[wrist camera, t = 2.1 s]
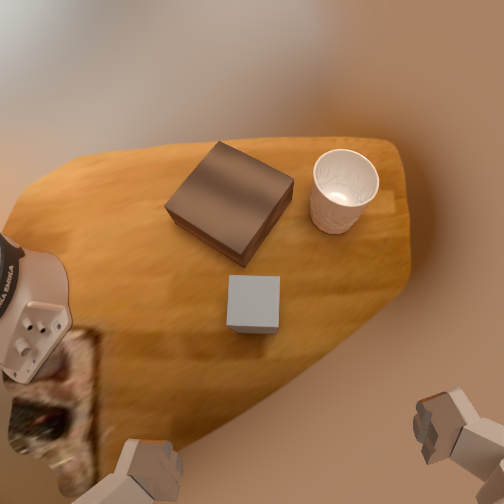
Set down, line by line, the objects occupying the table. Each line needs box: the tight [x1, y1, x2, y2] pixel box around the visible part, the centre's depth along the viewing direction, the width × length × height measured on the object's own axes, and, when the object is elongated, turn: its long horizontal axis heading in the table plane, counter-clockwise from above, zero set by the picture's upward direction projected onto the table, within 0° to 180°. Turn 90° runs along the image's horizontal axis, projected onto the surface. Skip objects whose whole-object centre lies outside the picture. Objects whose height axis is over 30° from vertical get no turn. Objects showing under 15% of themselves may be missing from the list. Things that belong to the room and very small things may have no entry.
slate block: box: [227, 275, 280, 334], centre depth 36 cm, size 5×5×10 cm
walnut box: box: [164, 141, 294, 268], centre depth 43 cm, size 12×12×6 cm
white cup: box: [310, 149, 379, 234], centre depth 40 cm, size 8×8×10 cm
